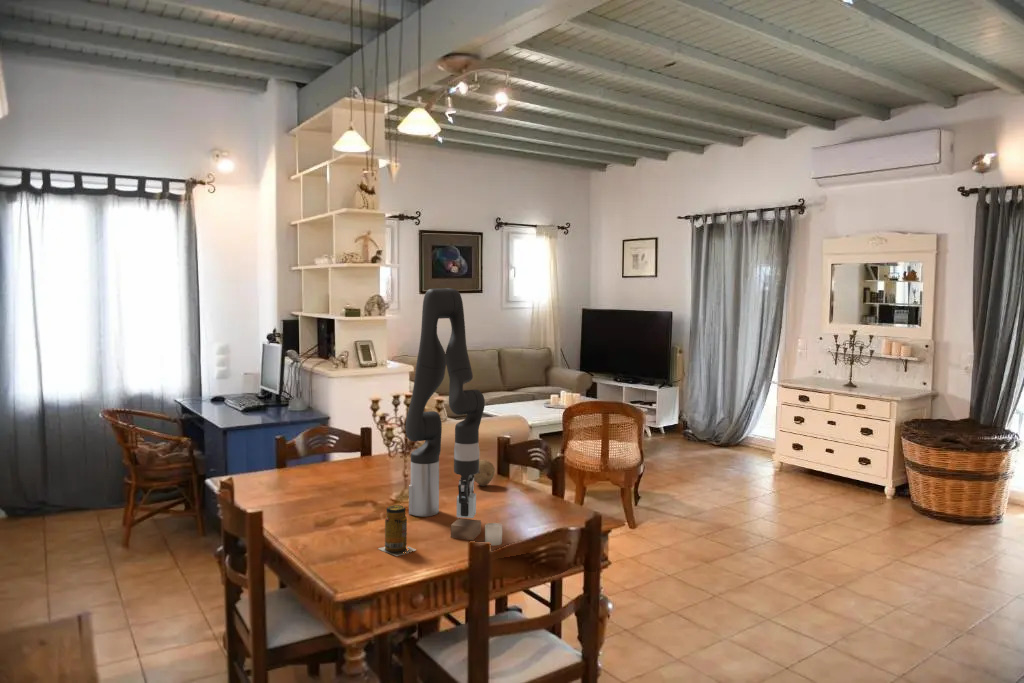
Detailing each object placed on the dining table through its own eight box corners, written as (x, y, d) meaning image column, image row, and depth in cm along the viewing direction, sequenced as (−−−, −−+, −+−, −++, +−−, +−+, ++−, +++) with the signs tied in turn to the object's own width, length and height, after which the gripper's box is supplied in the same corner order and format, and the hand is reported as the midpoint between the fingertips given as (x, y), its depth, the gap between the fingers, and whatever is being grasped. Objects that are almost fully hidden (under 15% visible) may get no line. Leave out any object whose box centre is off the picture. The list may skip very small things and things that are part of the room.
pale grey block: (473, 518, 218) (473, 498, 217) (456, 517, 218) (456, 497, 218) (475, 512, 223) (476, 493, 222) (459, 512, 223) (459, 492, 223)
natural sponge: (491, 490, 269) (491, 463, 268) (467, 488, 270) (468, 462, 270) (496, 483, 278) (496, 457, 277) (473, 482, 279) (473, 456, 278)
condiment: (398, 543, 214) (398, 502, 213) (416, 550, 208) (417, 508, 207) (377, 549, 208) (377, 507, 207) (396, 557, 203) (396, 514, 202)
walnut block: (450, 538, 219) (450, 525, 218) (459, 530, 226) (459, 518, 225) (472, 541, 217) (473, 527, 216) (480, 533, 223) (480, 520, 223)
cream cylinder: (483, 545, 213) (483, 528, 213) (486, 539, 218) (486, 522, 218) (500, 545, 212) (501, 529, 212) (503, 539, 217) (503, 523, 217)
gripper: (475, 463, 212) (474, 521, 213) (482, 452, 226) (482, 506, 227) (449, 462, 213) (449, 520, 214) (458, 451, 227) (458, 505, 228)
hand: (466, 512), depth 220 cm, fingers closed on pale grey block, 5 cm apart
